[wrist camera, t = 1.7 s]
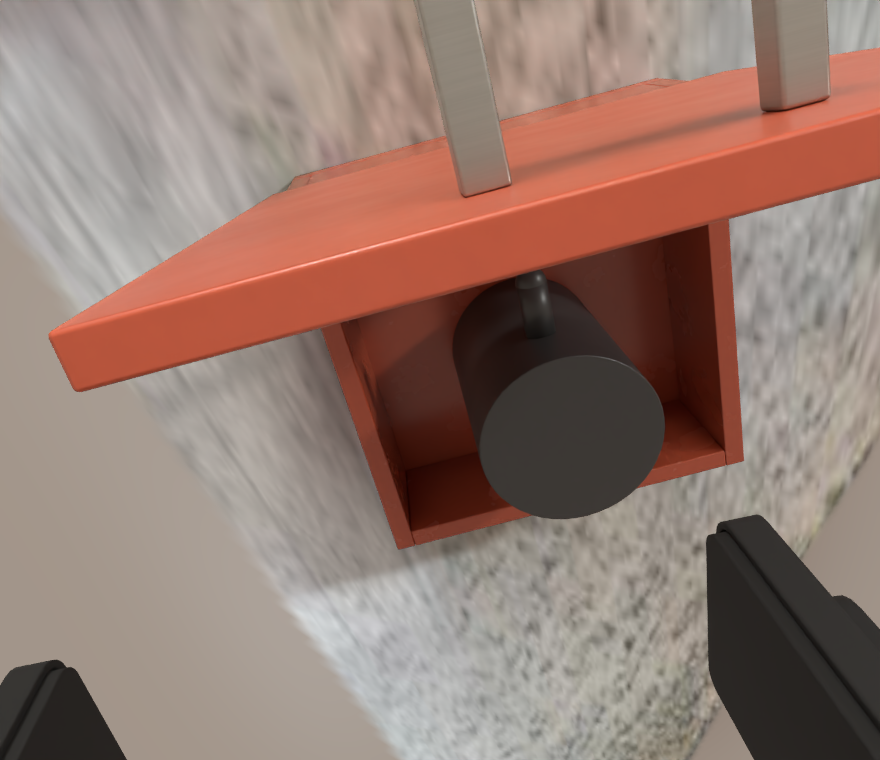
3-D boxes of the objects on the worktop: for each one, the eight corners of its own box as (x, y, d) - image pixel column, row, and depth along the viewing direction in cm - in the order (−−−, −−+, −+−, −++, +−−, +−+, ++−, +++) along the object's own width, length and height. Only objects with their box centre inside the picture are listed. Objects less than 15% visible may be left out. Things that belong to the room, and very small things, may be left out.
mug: (601, 388, 34) (674, 493, 26) (469, 422, 34) (500, 538, 26) (571, 205, 30) (646, 262, 22) (423, 245, 30) (442, 317, 22)
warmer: (689, 401, 35) (744, 461, 30) (394, 478, 36) (398, 550, 31) (656, 77, 29) (720, 83, 24) (293, 176, 29) (276, 204, 24)
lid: (1384, 45, 8) (1543, -694, 6) (74, 395, 8) (-206, -183, 6) (728, 96, 23) (708, -103, 21) (279, 218, 24) (217, 34, 22)
